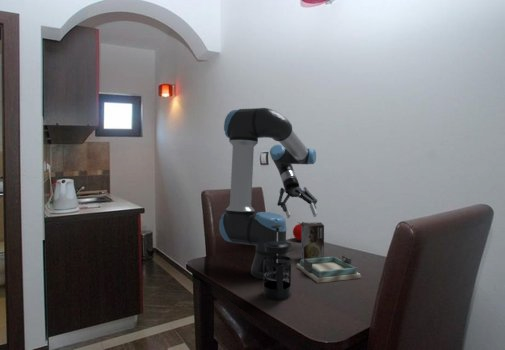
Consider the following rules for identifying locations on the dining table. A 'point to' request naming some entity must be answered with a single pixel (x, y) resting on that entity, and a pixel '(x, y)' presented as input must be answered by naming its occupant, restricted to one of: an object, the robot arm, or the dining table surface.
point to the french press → (277, 270)
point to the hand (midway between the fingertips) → (302, 216)
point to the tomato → (297, 231)
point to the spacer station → (329, 269)
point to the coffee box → (312, 240)
